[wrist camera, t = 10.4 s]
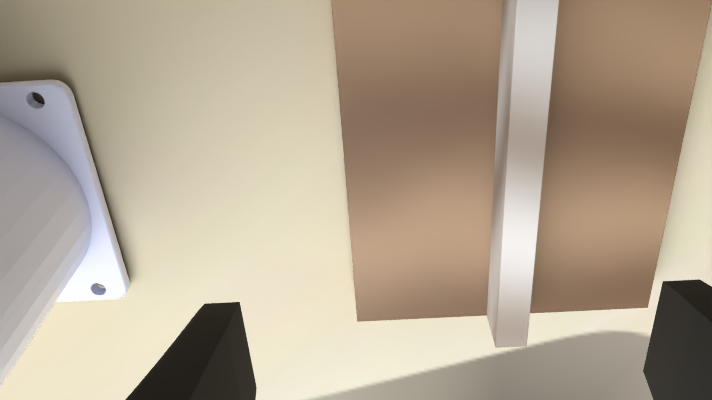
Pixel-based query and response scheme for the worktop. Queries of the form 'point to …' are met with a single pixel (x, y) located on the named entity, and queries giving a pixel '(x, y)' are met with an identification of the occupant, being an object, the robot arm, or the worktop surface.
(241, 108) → the worktop surface
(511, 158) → the track
